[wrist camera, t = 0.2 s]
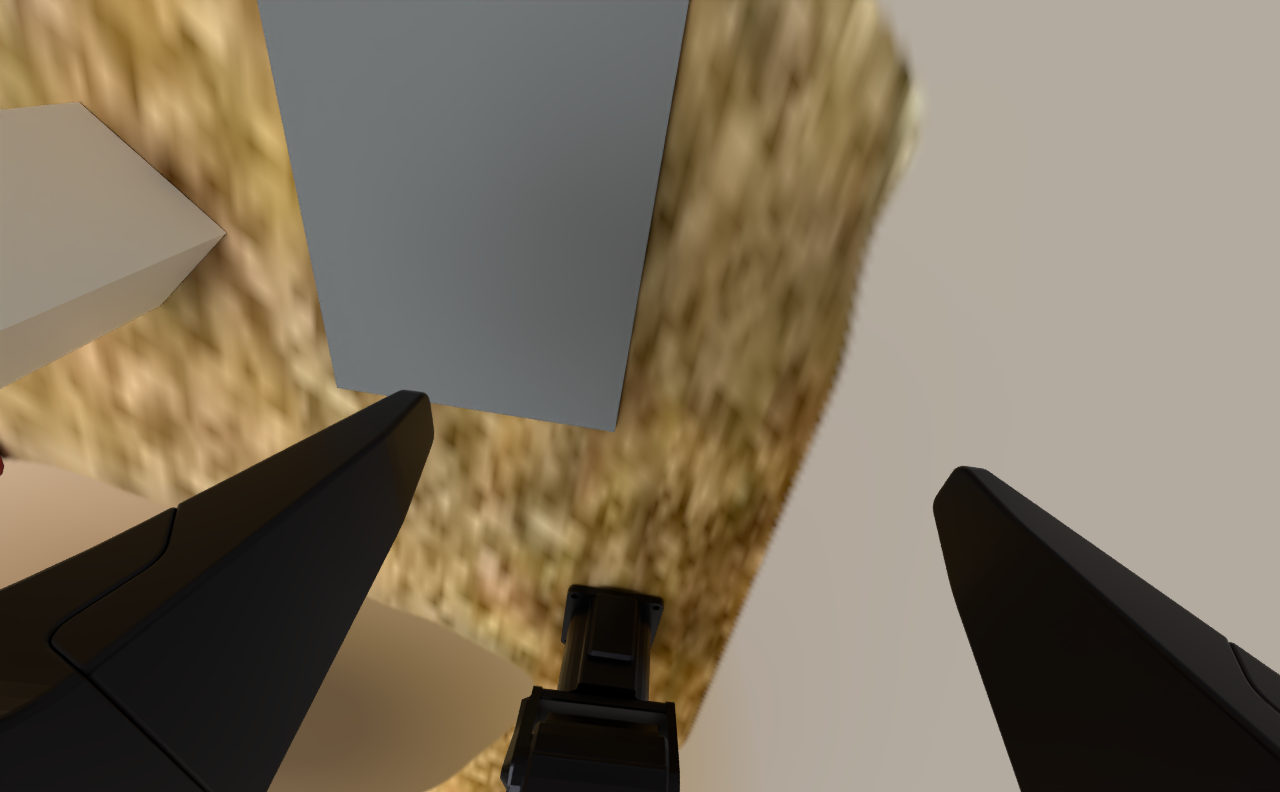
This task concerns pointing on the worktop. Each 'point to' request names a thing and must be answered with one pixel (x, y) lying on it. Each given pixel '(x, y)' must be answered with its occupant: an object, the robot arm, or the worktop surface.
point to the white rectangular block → (83, 235)
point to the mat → (478, 189)
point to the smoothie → (1, 466)
